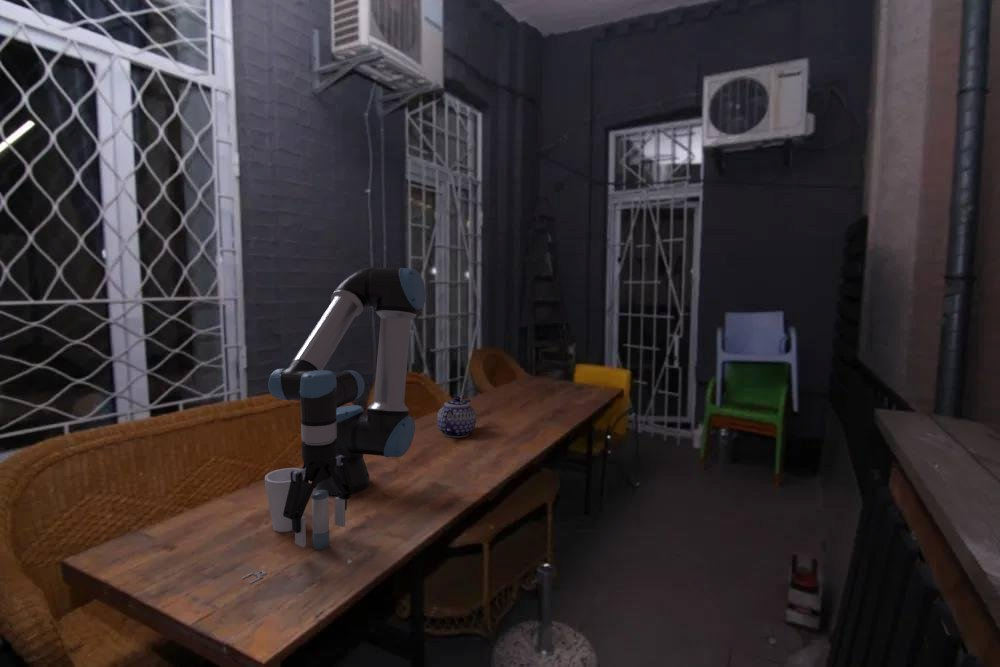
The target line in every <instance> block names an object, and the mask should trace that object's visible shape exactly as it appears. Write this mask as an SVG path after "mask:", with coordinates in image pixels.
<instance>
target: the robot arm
mask: <svg viewBox="0 0 1000 667" xmlns="http://www.w3.org/2000/svg"><path fill="white" fill-rule="evenodd" d="M330 301H331V302H330V304H329V305H328V307H327V308H326V310H325V312H323V314H322V316H321V317H320V319H319V320H318V322H317V323H316V325H315V326H314V328H313V329H312V331H311V333H309V335H308V337H307V339H306V340H305V341H304V343H303V345H302V346H301V348H299V351H297V354H296V355H295V356H294V358H293V359H292V361H291V362H290V364H289V365H288V367H287V368H276V369H275V370H273V371H272V373H271V374H270V376H269V378H268V382H267V387H268V391H269V393H270V395H271V397H273V398H274V399H279V400H284V401H288V402H290V401H295V402H300V414H301V418H300V425H301V428H300V431H301V432H300V434H301V441H302V443H301V458H302V461H303V465H302V467H301V468H300V469H301V470H298V471H294V470H293V471H291V473H290V477H291V483H290V487H289V491H288V495H287V500H286V504H285V508H284V512H283V516H284V517H286V518H289V519H291V520H292V532H293V533H294V544H295V545H296V546H300V547H302V548H304V547H306V546H307V535H306V534H307V533H306V532H307V527H306V526H307V525H306V524H307V523H306V522H307V521H306V517H305V516H303V515H304V512H305V511H306V507H307V506H308V503H309V500H310V498H311V497H312V492H314V489H316V491H317V490H327V491H328V494H329V496H335V497H334V524H335V525H336V526H339V527H341V528H344V527H346V511H347V510H348V509H347V508H348V500H349V499H350V498H351V495H352V494H356V493H359V492H361V491H364V490H366V489H367V488H368V487H369V486H370V480H371V479H370V473H369V471H368V468H367V465H366V462H365V459H364V455H366V456H367V455H369V456H370V455H371V456H377V457H378V456H380V457H385V458H401V457H403V456H404V455H405V454H406V453H407V452H408V451H409V450H410V448H411V445H412V442H413V440H414V436H415V430H416V424H415V419H414V418H413V417H412V416H410V415H409V413H410V412H409V410H410V409H409V408H408V406H406V404H405V398H406V397H405V396H406V395H405V394H406V383H407V371H408V360H409V359H408V358H409V357H408V356H409V348H410V346H409V345H410V333H411V323H412V321H413V319H415V318H416V317H417V312H418V311H417V310H420V309H423V308H424V305H425V303H426V287H425V282H424V280H423V277H422V275H421V273H420V272H419V271H418V270H416V269H415V268H407V267H406V268H405V267H365V268H362V269H359V270H357V271H355V272H353V273H352V274H350V275H348V276H347V278H345V279H344V280H343V281H341V282H340V283H339V285H337V287H336V288H335V289H334V291H333V293H332V294H331V296H330ZM367 308H376V311H375V313H376V314H377V316H378V317H379V318H380V325H379V333H378V335H379V336H378V348H377V358H376V359H377V360H376V369H375V370H376V372H375V380H374V382H375V383H374V392H373V402H372V403H371V404H370V405H369V406H368V407H367V411H366V412H364V411H365V410H364V408H363V406H361V405H358V404H357V405H356V404H354V405H347V404H350V403H353V402H354V401H356V400H357V399H358V398H361V396H362V395H363V394H364V391H365V386H366V385H365V384H366V383H365V381H364V377H363V376H362V375H361V374H360V373H359V372H357V371H356V370H351V369H350V370H343V371H340V372H333V371H332V370H324V368H325V367H326V365H327V364H328V362H329V361H330V359H331V357H332V355H333V354H334V352H335V351H336V349H337V347H338V345H339V344H340V342H341V341H342V338H343V337H344V335H345V334H346V332H347V330H348V329H349V327H350V326H351V324H352V322H353V321H354V319H355V317H358V316H360V315H361V314H362V313H363V311H364V310H365V309H367ZM304 475H305V476H304ZM297 511H298V512H297Z"/></svg>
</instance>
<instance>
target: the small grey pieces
mask: <svg viewBox="0 0 1000 667" xmlns="http://www.w3.org/2000/svg"><path fill="white" fill-rule="evenodd" d="M352 562H353V560H351V559H350V558H348V559H347V562H346V563H347V565H349V564H350V563H352ZM261 572H262V573H261ZM252 574H253V575H254V576H255V577H257V578H253V579H252V580H250V581H248V585H249V584H250V585H251V584H253V583H256V582H257V581H259V580H261V579H263V576H265V575H267V574H268V572H266V571H265V570H264V569H261V570H259V571H257V572H256V571H255V570H253V571H251V573H248V574H245V575H244V576H242V577H241V578H240V580H244V579H246V578H249V577H251V576H253V575H252ZM250 575H251V576H250Z"/></svg>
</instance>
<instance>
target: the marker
mask: <svg viewBox="0 0 1000 667" xmlns="http://www.w3.org/2000/svg"><path fill="white" fill-rule="evenodd" d="M329 497H330V495H329V494H328V491H327V490H317V489H316V490H313V492H312V494H311V520H312V522H311V524H312V550H314V551H317V552H318V551H319V552H321V551H325V550H327V549H329V548H330V512H329V511H330V508H329V506H330V501H329Z"/></svg>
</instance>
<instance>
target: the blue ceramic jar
mask: <svg viewBox="0 0 1000 667" xmlns="http://www.w3.org/2000/svg"><path fill="white" fill-rule="evenodd" d="M453 399H454V400H448V401H445V402H444V404H443V406H441V408H440V409H439V410H438V412H437V416H436V419H437V420H436V424H437V427H438V429H439V430H440V432H441V433H442V434H443V435H444V436H445V437H448V438H457V439H458V438H465V437H468V436H469V435H470V433H472V432H473V430H475V427H476V424H477V414H476V411H475V410H474V408H473V407H472V406H471V404H470V403H471V399H467V398H465V399H464V400H461V399H462V398H461V397H460V396H458V395H457V396H454V397H453Z"/></svg>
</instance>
